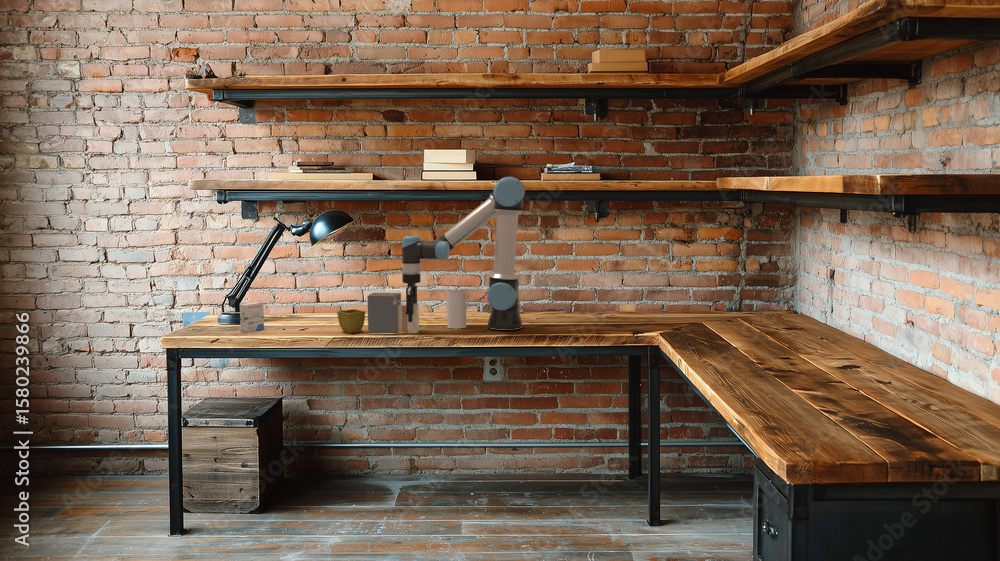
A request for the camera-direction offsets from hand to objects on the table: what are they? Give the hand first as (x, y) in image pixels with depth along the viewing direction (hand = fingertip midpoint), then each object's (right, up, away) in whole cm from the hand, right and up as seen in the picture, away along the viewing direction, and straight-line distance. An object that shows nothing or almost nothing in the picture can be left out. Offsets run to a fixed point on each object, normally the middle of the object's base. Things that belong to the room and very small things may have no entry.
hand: (412, 328), depth 309 cm
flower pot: (-25, -2, +1) cm, 26 cm away
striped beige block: (-3, -2, 0) cm, 4 cm away
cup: (+18, -1, +11) cm, 21 cm away
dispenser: (-11, -2, +1) cm, 12 cm away
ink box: (-68, -1, +4) cm, 69 cm away
